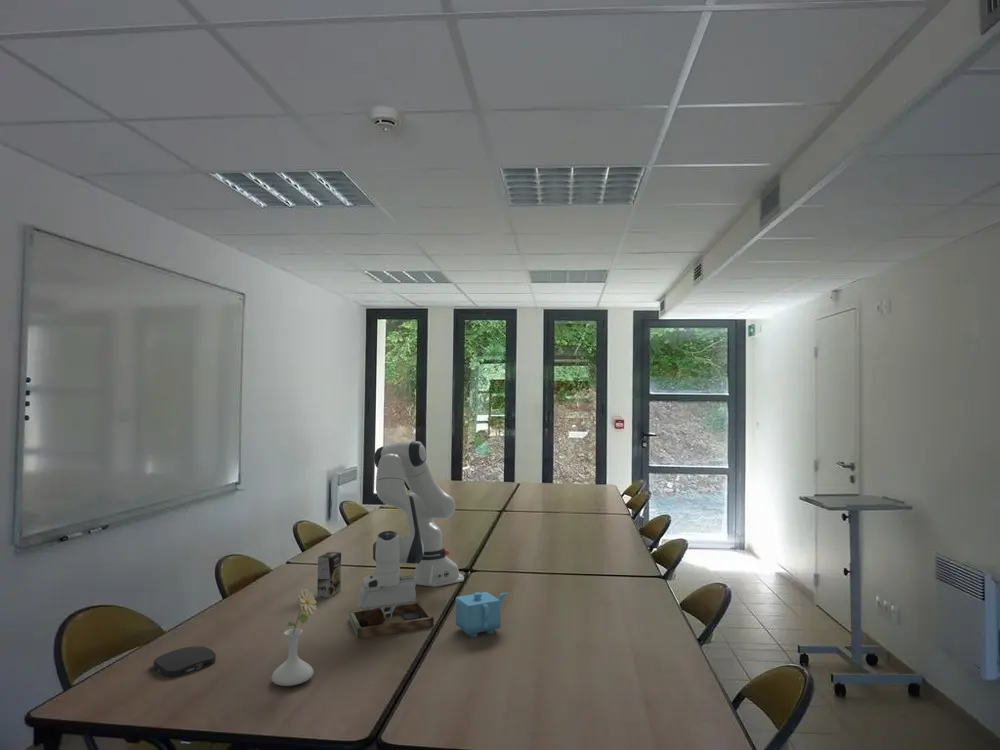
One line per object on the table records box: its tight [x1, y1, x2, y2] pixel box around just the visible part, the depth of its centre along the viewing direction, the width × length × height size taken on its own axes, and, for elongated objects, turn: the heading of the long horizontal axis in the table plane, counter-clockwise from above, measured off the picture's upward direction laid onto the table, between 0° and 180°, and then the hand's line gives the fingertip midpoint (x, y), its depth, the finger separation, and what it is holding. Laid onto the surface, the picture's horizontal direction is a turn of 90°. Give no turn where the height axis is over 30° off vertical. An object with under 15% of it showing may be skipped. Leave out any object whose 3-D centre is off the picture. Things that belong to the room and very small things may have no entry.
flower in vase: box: [270, 588, 318, 687], centre depth 171 cm, size 13×11×25 cm
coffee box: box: [316, 551, 342, 598], centre depth 247 cm, size 9×6×16 cm
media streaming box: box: [153, 645, 216, 678], centre depth 181 cm, size 15×15×3 cm
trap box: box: [348, 601, 435, 639], centre depth 214 cm, size 26×18×3 cm
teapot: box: [455, 591, 509, 638], centre depth 208 cm, size 18×16×13 cm
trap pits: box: [400, 611, 422, 621], centre depth 217 cm, size 6×14×1 cm, turn 23°
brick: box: [358, 607, 386, 628], centre depth 211 cm, size 11×4×5 cm, turn 158°
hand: (387, 617), depth 213 cm, fingers closed
